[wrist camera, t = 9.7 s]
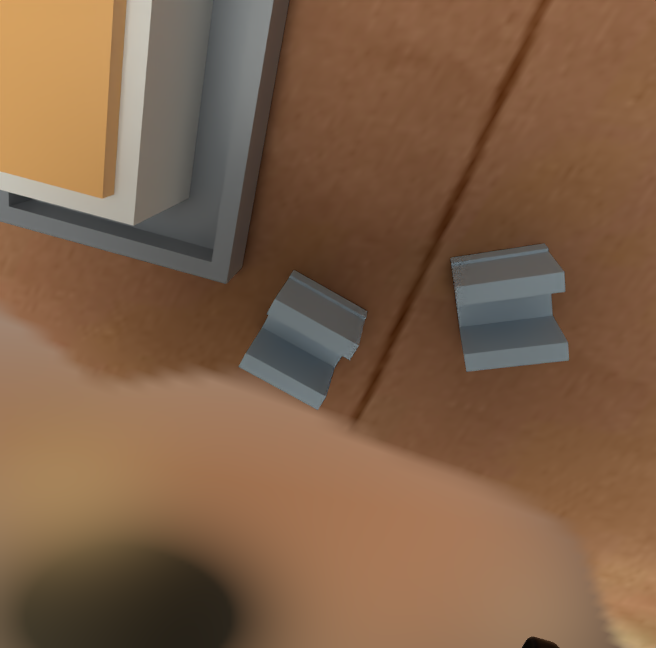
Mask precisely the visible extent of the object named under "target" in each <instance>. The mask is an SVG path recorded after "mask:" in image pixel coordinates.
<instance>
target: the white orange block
mask: <svg viewBox="0 0 656 648" xmlns="http://www.w3.org/2000/svg"><path fill="white" fill-rule="evenodd" d="M212 6H213V0H0V190H3V191H7V192H10V193H14V194H18V195H22V196H25V197H29V198H33V199H36V200H40V201H44V202H48V203H51V204H55V205H59V206H62V207H66V208H70V209H74V210H77V211H81V212H85V213H88V214H92V215H96V216H100V217H103V218H107V219H111V220H114V221H118V222H122V223H126V224H129V225H133V226H134V225H136V224H138V223H140V222H142V221H144V220H146V219H148V218H150V217H152V216H154V215H156V214H158V213H160V212H162V211H164V210H166V209H168V208H170V207H172V206H174V205H176V204H178V203H180V202H182V201H184V200H186V199H188V198H189V193H190V185H191V177H192V169H193V161H194V152H195V144H196V136H197V128H198V120H199V112H200V104H201V95H202V87H203V79H204V71H205V63H206V55H207V46H208V38H209V30H210V22H211V14H212Z"/></svg>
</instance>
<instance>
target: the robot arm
mask: <svg viewBox="0 0 656 648" xmlns="http://www.w3.org/2000/svg"><path fill="white" fill-rule="evenodd" d="M522 648H559V647H558V646H557V645H556V644H555V643H553V642H550V641H547V640H544V639H540V638H537V637H530V638H528V639H527V640H526V642H525V643H524V645H523V647H522Z"/></svg>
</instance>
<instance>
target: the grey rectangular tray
mask: <svg viewBox="0 0 656 648" xmlns="http://www.w3.org/2000/svg"><path fill="white" fill-rule="evenodd" d="M288 5H289V0H213V6H212V14H211V22H210V30H209V38H208V46H207V55H206V63H205V71H204V79H203V87H202V95H201V104H200V112H199V120H198V128H197V136H196V144H195V152H194V161H193V169H192V177H191V185H190V193H189V198H188V199H186V200H184V201H182V202H180V203H178V204H176V205H174V206H172V207H170V208H168V209H166V210H164V211H162V212H160V213H158V214H156V215H154V216H152V217H150V218H148V219H146V220H144V221H142V222H140V223H138V224H136V225H134V226H133V225H129V224H126V223H122V222H118V221H114V220H111V219H107V218H103V217H100V216H96V215H92V214H88V213H85V212H81V211H77V210H74V209H70V208H66V207H62V206H59V205H55V204H51V203H48V202H44V201H40V200H36V199H33V198H29V197H25V196H22V195H18V194H14V193H10V192H7V191H3V190H0V221H1V222H4V223H8V224H11V225H15V226H19V227H22V228H26V229H30V230H33V231H37V232H40V233H44V234H48V235H51V236H55V237H58V238H62V239H66V240H69V241H73V242H77V243H80V244H84V245H87V246H91V247H95V248H98V249H102V250H105V251H109V252H113V253H116V254H120V255H124V256H127V257H131V258H134V259H138V260H142V261H145V262H149V263H152V264H156V265H160V266H163V267H167V268H170V269H174V270H178V271H181V272H185V273H189V274H192V275H196V276H199V277H203V278H207V279H210V280H214V281H217V282H221V283H225V284H227V283H228V282H229V281H230V280H231V279H232V278H233V276H234V275H235V274H236V273H237V272H238V271H239V270H240V269H241V268H242V265H243V259H244V254H245V248H246V242H247V237H248V231H249V225H250V220H251V214H252V208H253V203H254V197H255V192H256V186H257V180H258V175H259V169H260V163H261V158H262V152H263V146H264V141H265V135H266V129H267V124H268V118H269V112H270V107H271V101H272V95H273V90H274V84H275V79H276V73H277V67H278V62H279V56H280V50H281V45H282V39H283V33H284V28H285V22H286V16H287V11H288Z"/></svg>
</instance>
